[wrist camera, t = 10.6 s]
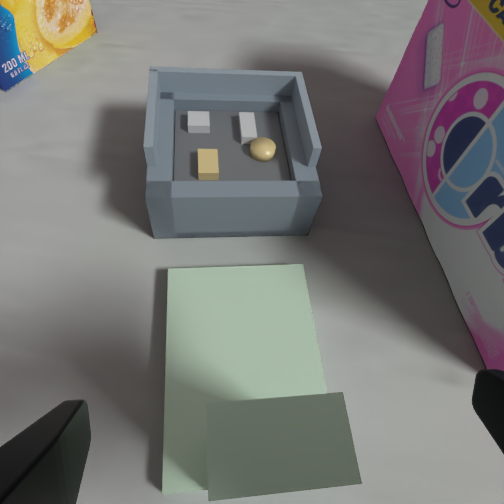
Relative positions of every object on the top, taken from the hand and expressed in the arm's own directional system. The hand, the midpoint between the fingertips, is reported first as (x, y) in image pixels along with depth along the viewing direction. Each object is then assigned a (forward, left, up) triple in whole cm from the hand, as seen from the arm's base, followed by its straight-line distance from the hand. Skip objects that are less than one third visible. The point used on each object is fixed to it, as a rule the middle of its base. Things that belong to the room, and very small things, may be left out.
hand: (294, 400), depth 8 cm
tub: (+12, +12, -11) cm, 20 cm away
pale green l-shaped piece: (+3, +3, -12) cm, 12 cm away
